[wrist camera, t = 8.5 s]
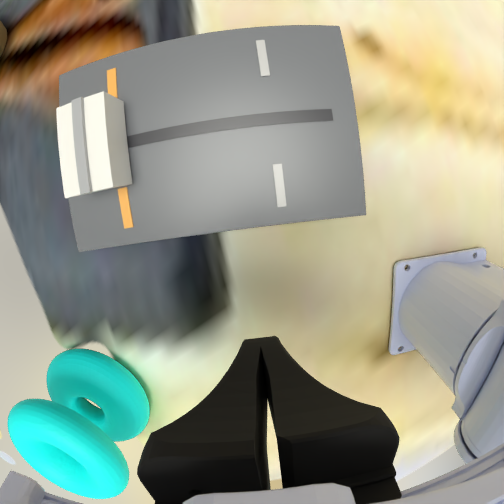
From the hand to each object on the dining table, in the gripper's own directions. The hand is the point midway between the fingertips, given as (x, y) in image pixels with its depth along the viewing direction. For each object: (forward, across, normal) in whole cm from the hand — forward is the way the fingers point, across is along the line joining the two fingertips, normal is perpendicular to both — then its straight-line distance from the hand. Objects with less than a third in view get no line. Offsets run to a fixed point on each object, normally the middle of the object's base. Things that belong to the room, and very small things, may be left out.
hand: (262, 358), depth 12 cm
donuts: (+10, +15, +9) cm, 20 cm away
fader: (+7, +8, -10) cm, 14 cm away
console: (+9, +2, -10) cm, 14 cm away
